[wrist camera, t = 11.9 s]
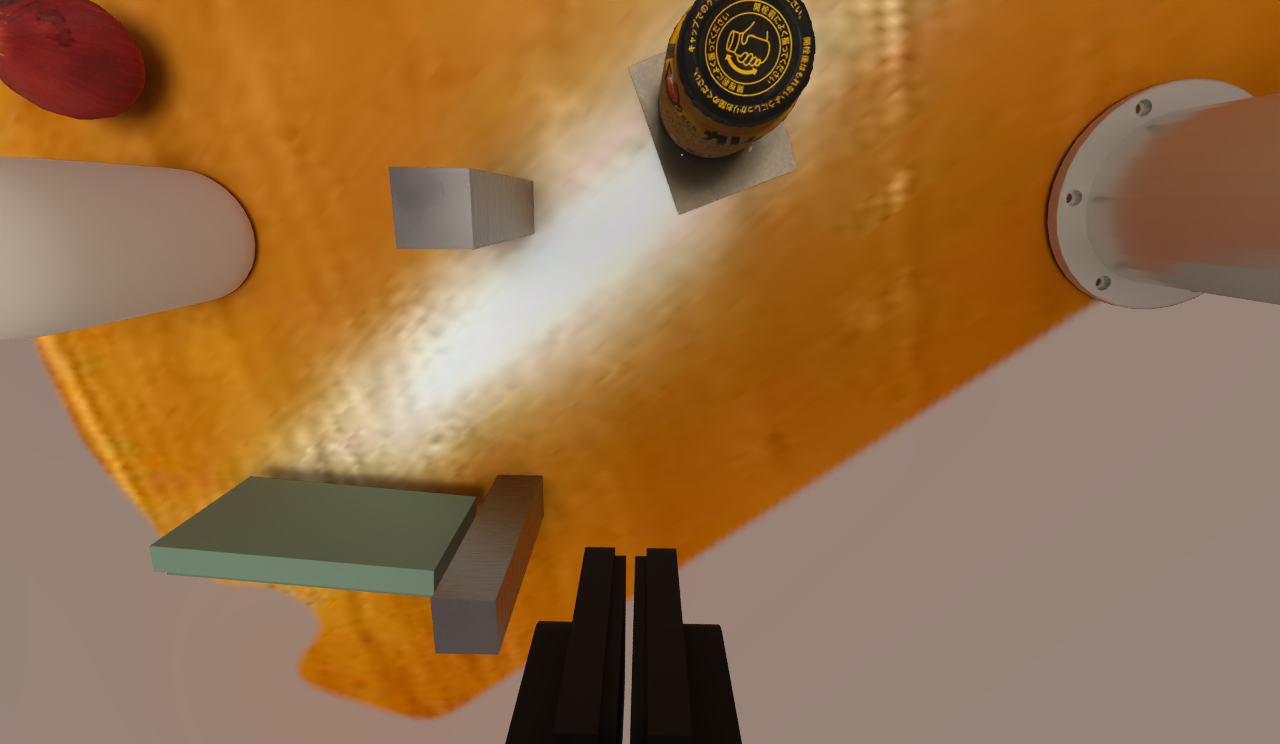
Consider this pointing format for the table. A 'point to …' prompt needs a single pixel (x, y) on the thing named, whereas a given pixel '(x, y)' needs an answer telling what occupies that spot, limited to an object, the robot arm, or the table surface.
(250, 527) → the gate
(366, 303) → the table surface
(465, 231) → the gate posts
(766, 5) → the condiment
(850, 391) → the table surface
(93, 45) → the onion
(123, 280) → the milk bottle
